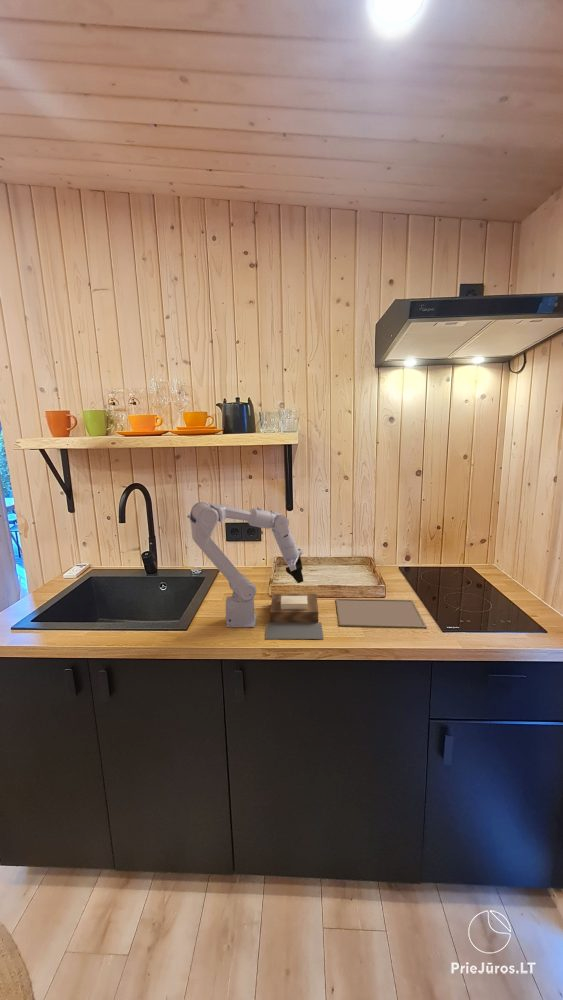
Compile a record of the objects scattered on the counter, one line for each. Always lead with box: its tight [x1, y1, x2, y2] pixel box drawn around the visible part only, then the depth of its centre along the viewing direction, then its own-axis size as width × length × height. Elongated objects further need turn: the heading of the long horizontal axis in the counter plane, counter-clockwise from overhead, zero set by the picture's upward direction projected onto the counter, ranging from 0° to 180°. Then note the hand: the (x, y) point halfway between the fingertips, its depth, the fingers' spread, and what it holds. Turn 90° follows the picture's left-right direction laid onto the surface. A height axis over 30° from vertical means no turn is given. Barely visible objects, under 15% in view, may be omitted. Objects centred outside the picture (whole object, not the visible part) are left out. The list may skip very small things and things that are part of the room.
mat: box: [264, 621, 324, 641], centre depth 130 cm, size 18×10×1 cm, turn 88°
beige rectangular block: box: [281, 596, 308, 609], centre depth 138 cm, size 9×6×2 cm, turn 88°
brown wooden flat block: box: [269, 593, 319, 622], centre depth 141 cm, size 16×14×4 cm
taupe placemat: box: [335, 598, 428, 629], centre depth 140 cm, size 19×1×28 cm
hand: (300, 575), depth 143 cm, fingers open, 7 cm apart
